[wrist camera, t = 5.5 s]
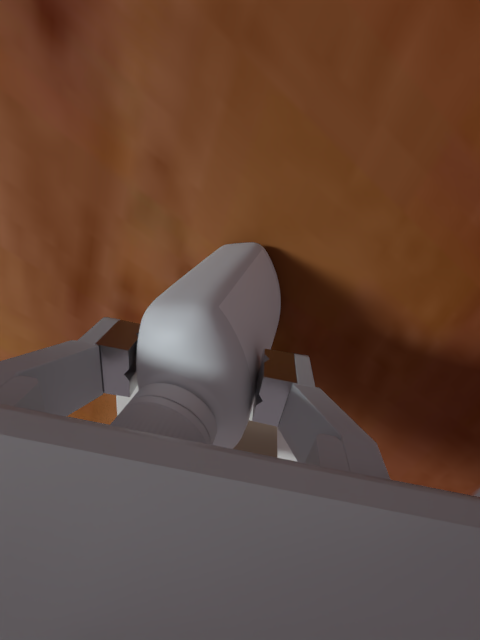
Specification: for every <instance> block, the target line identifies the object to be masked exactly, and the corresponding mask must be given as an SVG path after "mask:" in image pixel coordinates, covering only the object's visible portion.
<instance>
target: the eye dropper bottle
mask: <svg viewBox="0 0 480 640" xmlns="http://www.w3.org/2000/svg"><path fill="white" fill-rule="evenodd" d="M280 309H281V295H280V287H279V282H278V278H277V274H276V271H275V268H274V266H273V263H272V261H271V259H270V257H269V255H268V253H267V252H266V250H265V248H264V247H262V246H261V245H260V244H258V243H253V242H250V243H235V244H226V245H224V246H222V247H220V248H219V249H217V250H216V251H215V252H214V253H212V254H211V255H210V256H208V257H207V258H206V259H205V260H203V261H202V262H201V263H199V264H198V265H197V266H196V267H194V268H193V269H192V270H191V271H189V272H188V273H187V274H185V275H184V276H183V277H182V278H180V279H179V280H178V281H177V282H175V283H174V284H173V285H172V286H170V287H169V288H168V289H167V290H166V291H165V292H163V293H162V294H161V295H160V296H159V297H157V298H156V299H155V300H154V301H153V302H152V303H151V304H150V306H149V307H148V308H147V310H146V311H145V313H144V315H143V317H142V321H141V325H140V329H139V334H138V341H137V351H136V372H137V382H138V389H139V391H138V392H137V393H136V394H135V396H134V397H133V398H132V399H131V400H130V402H129V403H128V404H127V405H126V406H125V408H124V409H123V410H122V411H121V412H120V414H119V415H118V416H117V417H116V418H115V420H114V421H113V422H112V423H111V424H110V425H113V426H118V427H123V428H128V429H133V430H138V431H144V432H149V433H154V434H159V435H164V436H169V437H174V438H180V439H185V440H190V441H195V442H200V443H205V444H210V445H216V446H221V447H226V448H231V449H233V448H234V447H235V446H236V445H237V444H238V442H239V441H240V439H241V438H242V436H243V433H244V431H245V429H246V426H247V424H248V421H249V417H250V414H251V411H252V408H253V405H254V400H255V390H256V384H257V378H258V372H259V369H260V366H261V357H262V353H263V350H264V348H265V349H271V347H272V343H273V340H274V337H275V333H276V330H277V327H278V322H279V317H280Z"/></svg>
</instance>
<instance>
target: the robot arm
mask: <svg viewBox="0 0 480 640" xmlns="http://www.w3.org/2000/svg"><path fill="white" fill-rule="evenodd" d="M140 325H141V324H138V323H134V322H129V321H124V320H120V319H115V318H109V317H104V318H102V319H101V320H100V321H99V322H98V323H97V324H96V325H95V326H93V327H92V328H91V329H90V330H89V331H88V332H87V333H86V334H84V335H83V336H82V337H81V338H80V339H79V340H78V341H74V340H71V341H68V342H64V343H61V344H58V345H54V346H51V347H48V348H44V349H41V350H37V351H34V352H31V353H27V354H24V355H20V356H17V357H14V358H10V359H7V360H3V361H0V640H480V497H477V496H471V495H466V494H461V493H456V492H451V491H446V490H441V489H436V488H431V487H425V486H420V485H415V484H410V483H405V482H400V481H395V480H390V477H389V475H388V472H387V470H386V467H385V464H384V462H383V459H382V456H381V454H380V451H379V448H378V446H377V443H376V442H375V441H374V440H373V439H372V438H371V437H369V436H368V435H367V434H366V433H365V432H364V431H363V430H362V429H361V428H360V427H359V426H358V425H357V424H356V423H355V422H354V421H353V420H352V419H351V418H350V417H349V416H348V415H347V414H346V413H345V412H344V411H343V410H342V409H341V408H340V407H339V406H338V405H337V404H336V403H335V402H334V401H333V400H332V399H330V398H329V397H328V396H327V395H326V394H325V393H324V392H323V391H322V390H321V389H320V388H317V387H315V383H314V378H313V373H312V368H311V363H310V358H309V356H308V355H302V354H295V353H288V352H282V351H277V350H271V349H265V348H264V350H263V353H262V357H261V366H260V369H259V372H258V378H257V384H256V390H255V400H254V405H253V417H252V421H254V422H258V423H263V424H267V425H272V426H276V427H278V429H279V431H280V432H281V434H282V436H283V437H284V439H285V441H286V443H287V444H288V446H289V448H290V449H291V451H292V453H293V455H294V456H295V458H296V460H297V461H298V462H297V461H292V460H287V459H282V458H276V457H271V456H266V455H261V454H256V453H251V452H246V451H241V450H236V449H231V448H226V447H221V446H216V445H210V444H205V443H200V442H195V441H190V440H185V439H180V438H174V437H169V436H164V435H159V434H154V433H149V432H144V431H138V430H133V429H128V428H123V427H118V426H113V425H107V424H102V423H97V422H92V421H87V420H82V419H77V418H72V417H66V416H68V415H69V414H71V413H73V412H74V411H76V410H78V409H79V408H81V407H83V406H84V405H86V404H88V403H89V402H91V401H93V400H94V399H96V398H98V397H99V396H101V395H103V393H107V394H113V395H119V396H125V397H130V396H131V394H132V393H133V391H134V390H135V388H136V386H137V385H138V382H137V372H136V351H137V341H138V334H139V329H140Z"/></svg>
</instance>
